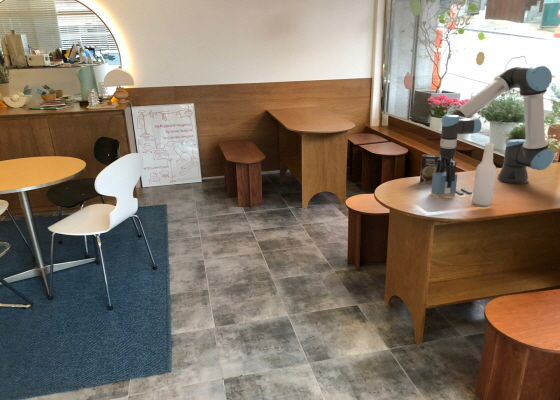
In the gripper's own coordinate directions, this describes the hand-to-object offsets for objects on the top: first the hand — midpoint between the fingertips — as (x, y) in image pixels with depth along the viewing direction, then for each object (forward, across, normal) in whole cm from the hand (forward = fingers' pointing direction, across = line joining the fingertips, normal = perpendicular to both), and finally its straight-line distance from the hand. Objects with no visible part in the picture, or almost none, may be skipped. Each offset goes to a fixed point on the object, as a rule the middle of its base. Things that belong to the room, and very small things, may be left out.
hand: (443, 191), depth 230 cm
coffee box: (+3, -22, +4) cm, 23 cm away
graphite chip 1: (+2, 0, +8) cm, 9 cm away
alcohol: (+3, +15, +12) cm, 19 cm away
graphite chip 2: (+2, 0, +14) cm, 14 cm away
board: (+3, 0, +6) cm, 6 cm away
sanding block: (+2, 0, 0) cm, 2 cm away
